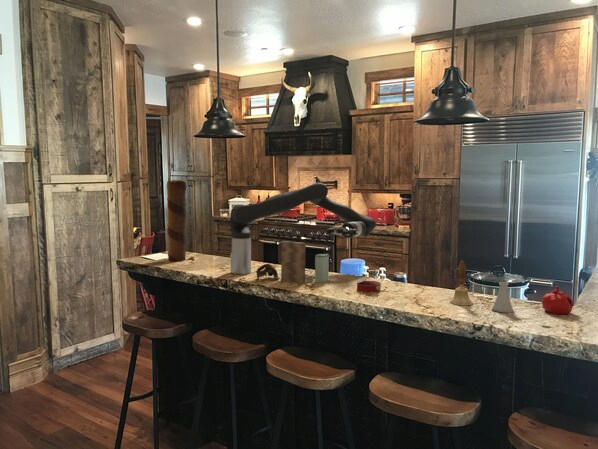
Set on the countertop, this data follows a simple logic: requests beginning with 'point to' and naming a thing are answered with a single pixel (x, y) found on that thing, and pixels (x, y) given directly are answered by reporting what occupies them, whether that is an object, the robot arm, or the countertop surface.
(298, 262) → the brown upright block
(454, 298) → the hand bell
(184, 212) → the wafer roll
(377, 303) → the countertop surface
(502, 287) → the flask
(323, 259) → the grey-green cylinder
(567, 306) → the pomegranate
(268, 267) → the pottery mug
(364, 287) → the canned food
